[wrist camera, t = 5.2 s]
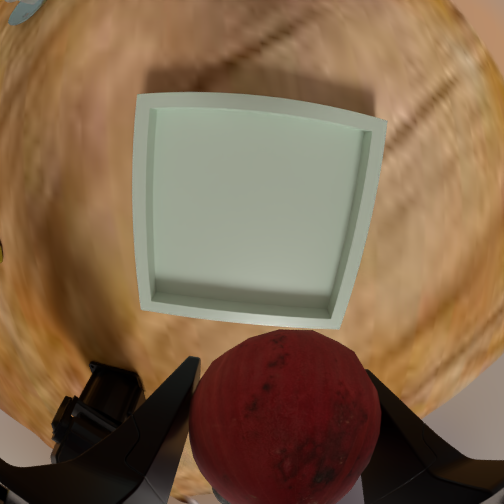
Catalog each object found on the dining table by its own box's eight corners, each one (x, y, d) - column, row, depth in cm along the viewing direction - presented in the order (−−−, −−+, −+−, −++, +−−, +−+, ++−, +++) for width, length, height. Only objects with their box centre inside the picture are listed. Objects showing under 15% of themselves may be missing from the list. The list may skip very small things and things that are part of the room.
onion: (251, 254, 9) (230, 537, 2) (376, 318, 10) (454, 498, 3) (187, 360, 11) (144, 532, 4) (296, 399, 12) (308, 547, 5)
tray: (148, 296, 22) (140, 309, 20) (148, 97, 16) (137, 94, 14) (333, 315, 23) (339, 329, 21) (375, 121, 16) (387, 120, 14)
